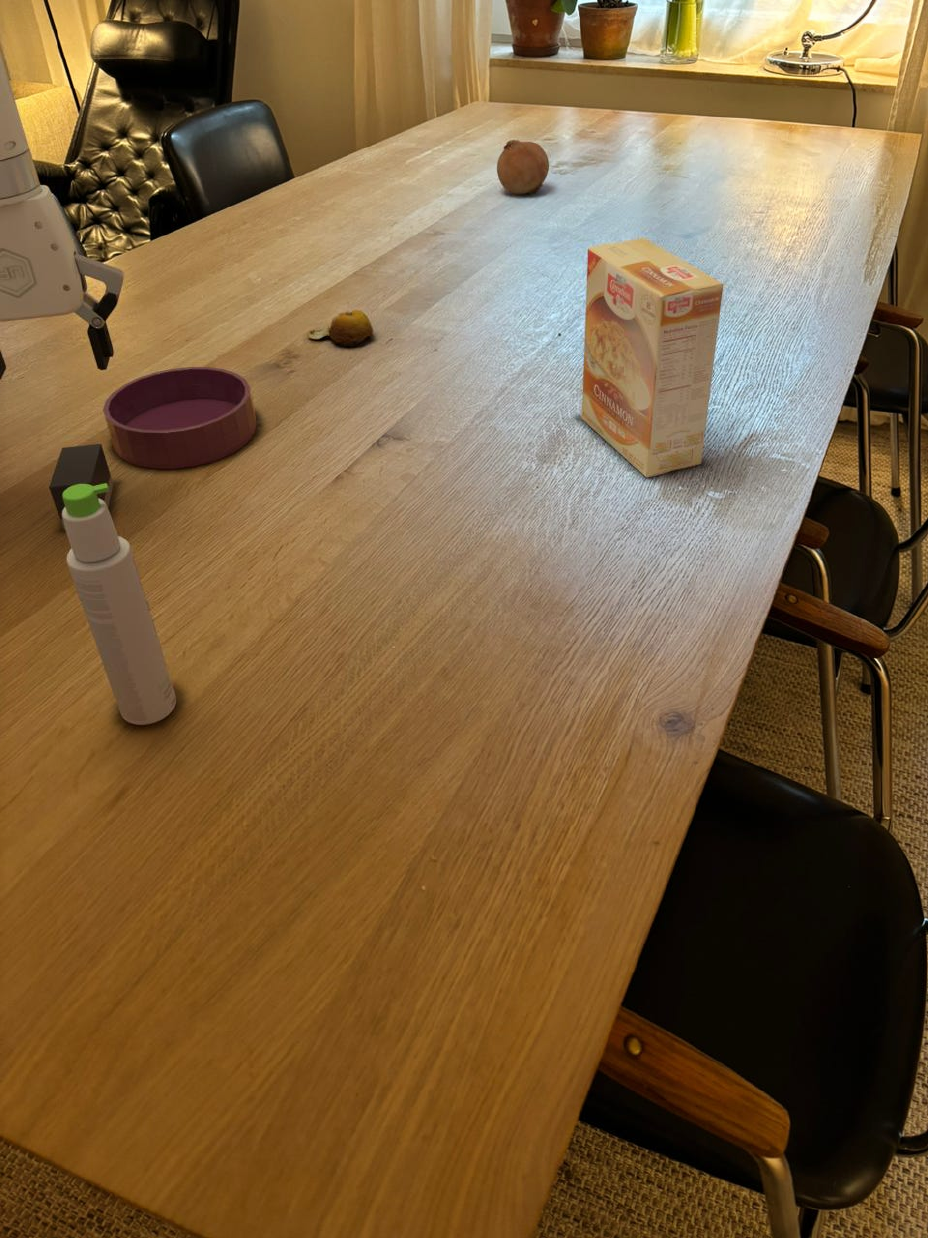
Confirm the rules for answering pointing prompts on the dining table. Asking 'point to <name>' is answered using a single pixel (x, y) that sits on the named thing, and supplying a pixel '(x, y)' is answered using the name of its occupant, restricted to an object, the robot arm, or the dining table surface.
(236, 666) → the dining table surface
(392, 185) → the dining table surface
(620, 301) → the coffeecake box
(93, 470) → the eraser
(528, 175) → the onion
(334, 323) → the fruit
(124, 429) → the bowl
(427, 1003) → the dining table surface
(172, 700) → the bottle
